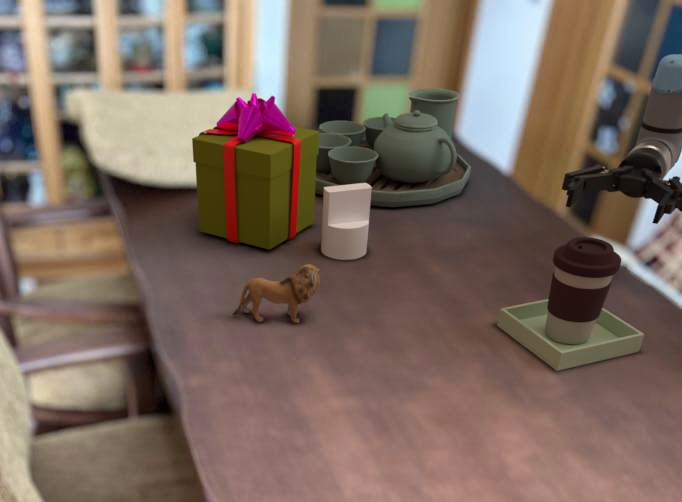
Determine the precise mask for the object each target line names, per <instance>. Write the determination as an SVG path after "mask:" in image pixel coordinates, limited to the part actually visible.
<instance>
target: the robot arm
mask: <svg viewBox="0 0 682 502" xmlns="http://www.w3.org/2000/svg"><path fill="white" fill-rule="evenodd" d="M681 154H682V53H679V54H676V53H673V54H667V55H665V56H664V57H662V58H661V60H660V61H659V63H658V66H657V69H656V72H655V75H654V78H653V79H652V82H651V88H650V92H649V95H648V98H647V103H646V107H645V111H644V114H643V118H642V122H641V125H640V128H639V132H638V136H637V139H636V143H635V146H634V147H633V148H632V150H630V152H628V154H627V155H626V156H625V157H624V158H623V159H622V160H621V162H620V163H619V164H618V166H617V167H615V168H611V169H606V165H605V164H604V163H601V162H600V163H597V164H595V165H594V166H590V167H586V168H581V169H578V170H574V171H569V172H566V173H565V174H564V177H563V181H562V185H561V190H562V191H566V196H567V198H566V203H565V208H571V207H572V206H573V205H574V204H575V203H576V202H577V201H578V200H579V199H580V198H581V197H582V194H583V193H592V192H599V191H600V192H601V191H606V192H608V193H617V192H620V193H622V194H623V195H624V196H627V197H629V198H631V199H640V198H644V199H646V200H650V199H651V200H652V201H653V202H655V203H656V204H657V206H656V210H655V213H654V217H653V220H652V224H654V225H658V224H659V223H660V221H661V219H662V218H663V217H664V215H672V214H673V212H675V210H678V211H679V212H681V213H682V182H681V177H680V176H678V175H674V176H672V177H670V178H668V180H667V179H665V177H666V176H667V175H668V173H669V172H670V171H671V170H672V169H673V168H674V167H675V165H676V164H677V163H678V161H679V159H680V157H681Z"/></svg>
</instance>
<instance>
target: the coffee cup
mask: <svg viewBox="0 0 682 502" xmlns="http://www.w3.org/2000/svg"><path fill="white" fill-rule="evenodd" d="M552 263H553V265H554V266H555V267H554V271H553V273H552V276H551V282H550V288H549V294H548V298H547V299H548V305H547V309H548V313H547V319H546V325H545V333H546V335H547V336H548V337H549V338H551V339H552V340H554V341H557V342H560V343H564V344H580V343H584V342H586V341H587V340H588V339H589V338H590V336H591V333H592V330H593V328H594V325H595V322H596V320H597V318H598V317H599V315H600V313H601V310H602V308H604V305H605V302H606V299H607V296H608V293H609V291H610V288H611V285H612V278H613V276H614V275H616V274H617V273H618V272H619V271H620V268H621V263H622V258H621V255H619V254H618V252H616V251H615V248H614V246H613V245H612V244H611V243H610V242H609V241H606V240H604V239H600V238H596V237H589V236H580V237H573V238H571V239H569V240H568V241H567V242H566V244H562V245H560V246H558V247H557V248H555V250H554V253H553V256H552Z"/></svg>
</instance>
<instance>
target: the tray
mask: <svg viewBox="0 0 682 502" xmlns="http://www.w3.org/2000/svg"><path fill="white" fill-rule="evenodd" d="M548 299H549V298H547V299H542V300H535V301H532V302H527V303H522V304H516V305H511V306H506V307H501V308H500V309H499V313H498V319H497V324H496V326H497V327H498V328H499V329H501V330H502V331H503V332H504V333H506V334H507V335H509V336H510V337H511V338H513V340H515V341H517V342H518V343H519V344H521V345H522V346H523V347H524V348H526V349H527V350H528V351H530V352H531V353H532V354H534V355H535V356H536V357H538V358H539V359H540V360H542V361H543V362H544V363H546V365H548V366H549V367H551V368H552V369H553V370H554V371H556V372H558V371H563V370H567V369H570V368H571V369H572V368H575V367H579V366H585V365H589V364H593V363H597V362H601V361H605V360H610V359H615V358H618V357H622V356H627V355H630V354H631V355H632V354H635V353H639V352H640V350H641V347H642V344H643V342H644V341H643V340H644V337H645V336H646V335H645V334H644V332H642V331H640V330H638V329H637V328H635V327H634V326H632V325H631V324H629V323H628V322H626V321H625V320H623V319H621V318H620V317H618V316H617V315H615V314H613V313H612V312H610V311H609V310H607V309H605V308H604V307H602V310H601V313H600V315H599V317H598V318H597V320H596V322H595V325H594V328H593V330H592V333H591V336H590V338H589V339H588V340H587V341H586V342H584V343H580V344H564V343H560V342H557V341H554V340H552V339H551V338H549V337H548V336H547V335H546V333H545V325H546V319H547V313H548V309H547V305H548Z"/></svg>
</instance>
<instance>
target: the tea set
mask: <svg viewBox="0 0 682 502" xmlns="http://www.w3.org/2000/svg"><path fill="white" fill-rule="evenodd" d="M408 99H409V100H410V109H409V112H404V113H401V114H399V115H397V116H396V117H394V116H393V117H392V116H390V115H389V113H388V112H385V113H384V114H383V115H382V116H374V117H369V118H366V119H364V120H363V121H362V123H359V122H358V121H351V120H330V121H325V122H323V123H320V124H319V126H318V127H319V128H318V129H319V130H318V131H319V154H318V155H317V156H316V182H315V194H318V195H321V196H323V195H324V187H330V186H339V185H349V184H358V183H367V184H369V185H370V186H371V187H372V190H371V202H370V206H373V207H385V208H399V207H400V208H402V207H410V206H411V207H412V206H423V205H432V204H435V203H438V202H441V201H444V200H446V199H449V198H452V197H455V196H457V195H460V194H461V193H462V192H463V190H464V187H465V185H466V184H467V182H468V180H469V178H470V176H471V172H472V166H471V165H470V164H469V163H468V162H467V161H466V160H465V159H464V158H463V157H462V156H461V155H460V154H459V153H457V149H456V145H455V144H454V142H453V139H452V138H453V133H454V125H455V119H456V111H457V104H458V101H459V100H460V99H461V95H460V93H459V92H457V91H454V90H450V89H446V88H438V87H437V88H436V87H424V88H417V89H413V90H411V91H410V92H409V96H408ZM364 134H365V137H364Z"/></svg>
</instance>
